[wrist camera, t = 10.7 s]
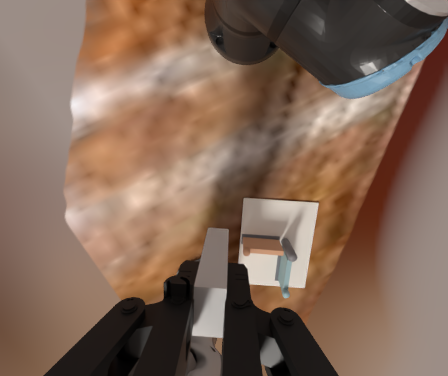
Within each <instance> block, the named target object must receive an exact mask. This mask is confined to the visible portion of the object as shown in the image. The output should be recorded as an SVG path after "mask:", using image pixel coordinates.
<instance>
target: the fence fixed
mask: <svg viewBox="0 0 448 376" xmlns="http://www.w3.org/2000/svg"><path fill="white" fill-rule="evenodd" d="M281 244H282V246H283V250H284V254H283V256H281V260H280V267H279V275H278V281H279V284H280V287H281V290H282V294H283V297H284V298H288V297H289V296H290V294H289V291H288V286H289V279H290V272H291V265H292V262H294V261H296V260H297V255H296V253H295V251H294V249H293V247H292V245H291V243H290V241H289V240H288V239H287V238H283V239H282V240H281Z"/></svg>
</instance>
